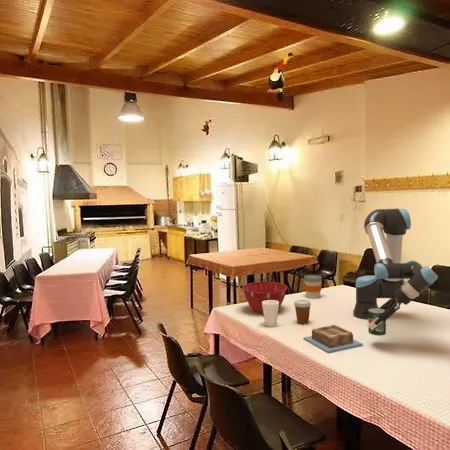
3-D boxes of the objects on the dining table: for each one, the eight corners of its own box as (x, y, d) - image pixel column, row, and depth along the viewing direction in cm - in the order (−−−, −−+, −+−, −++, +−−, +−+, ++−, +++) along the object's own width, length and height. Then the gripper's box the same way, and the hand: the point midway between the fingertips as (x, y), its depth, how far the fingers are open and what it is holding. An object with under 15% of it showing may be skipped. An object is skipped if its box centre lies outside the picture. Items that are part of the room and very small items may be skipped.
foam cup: (268, 328, 220) (267, 305, 219) (259, 324, 228) (258, 301, 227) (282, 325, 224) (282, 302, 224) (273, 321, 233) (272, 299, 232)
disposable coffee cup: (311, 325, 223) (311, 304, 222) (294, 324, 225) (293, 303, 224) (311, 320, 232) (310, 299, 232) (294, 319, 234) (294, 299, 233)
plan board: (335, 333, 209) (335, 331, 209) (362, 345, 191) (362, 343, 191) (303, 339, 202) (303, 337, 202) (328, 353, 183) (328, 351, 183)
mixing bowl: (295, 314, 245) (294, 289, 244) (250, 319, 238) (250, 293, 237) (277, 302, 273) (277, 280, 272) (237, 306, 266) (237, 283, 265)
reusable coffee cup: (304, 299, 279) (304, 278, 278) (303, 295, 291) (303, 274, 290) (322, 299, 277) (322, 278, 275) (321, 295, 289) (321, 274, 288)
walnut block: (334, 333, 205) (334, 324, 205) (353, 342, 193) (353, 332, 192) (311, 338, 200) (311, 328, 200) (329, 347, 187) (329, 337, 187)
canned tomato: (364, 331, 193) (364, 309, 192) (377, 328, 196) (377, 307, 195) (377, 336, 186) (376, 313, 185) (389, 334, 189) (389, 311, 188)
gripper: (415, 305, 175) (376, 338, 182) (409, 293, 195) (374, 323, 201) (402, 293, 176) (364, 326, 183) (398, 282, 196) (363, 312, 202)
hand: (369, 324), depth 192 cm, fingers closed on canned tomato, 8 cm apart
